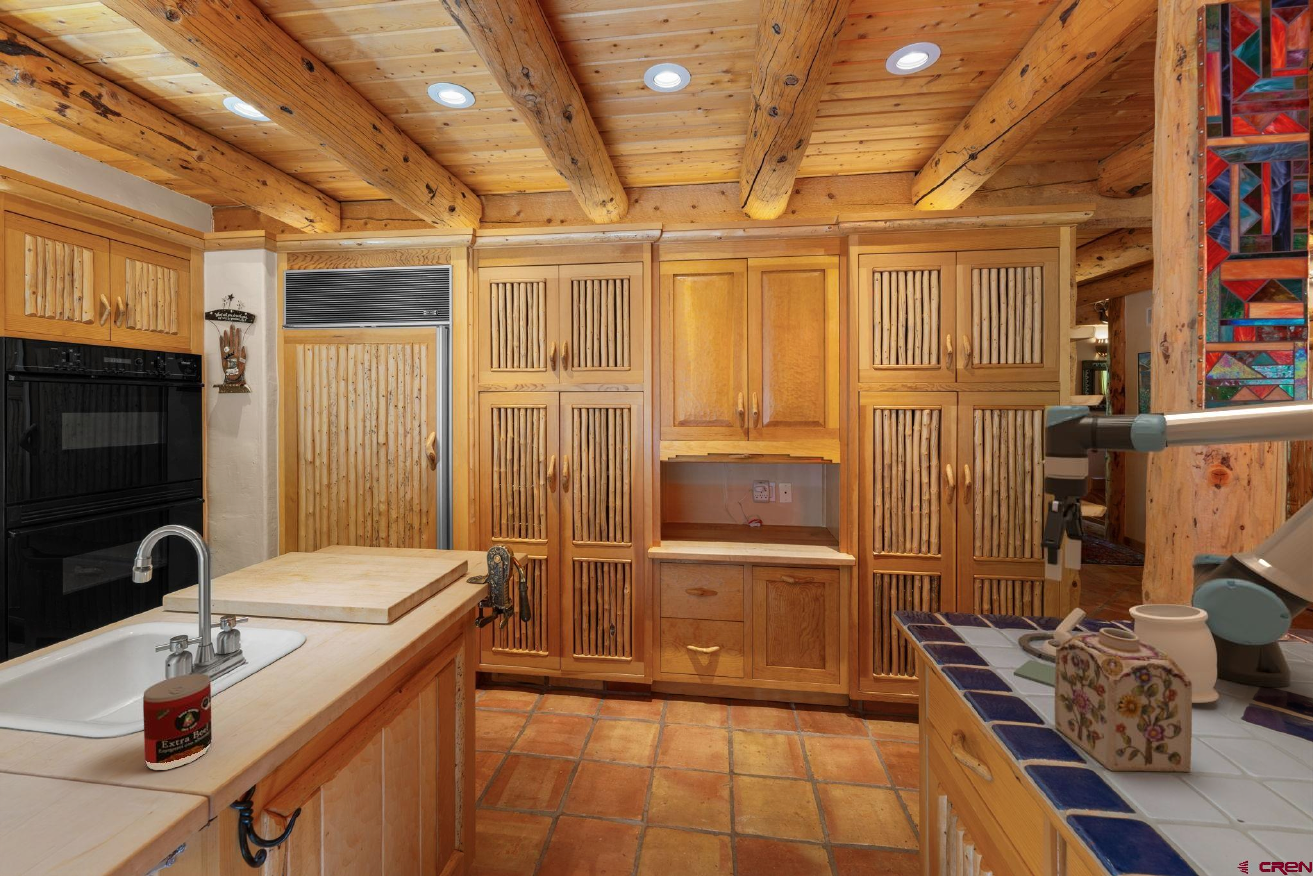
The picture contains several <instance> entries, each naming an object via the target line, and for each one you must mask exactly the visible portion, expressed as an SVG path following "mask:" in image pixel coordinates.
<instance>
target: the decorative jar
mask: <svg viewBox="0 0 1313 876" xmlns="http://www.w3.org/2000/svg"><path fill="white" fill-rule="evenodd" d="M1056 648H1057V649H1056V663H1054V664H1055V665H1054V667H1055V687H1054V727H1055V729H1057V730H1058V731H1060V732H1061V733H1063V734H1064V735H1065V736H1066V737H1067V738H1068V739H1069V740H1071V741H1072V742H1073V743H1075V744H1076V745H1077V746H1078V747H1080V748H1081V750H1083V751H1085V752H1086V753H1087V754H1089V755H1090V756H1091V757H1093V758H1094V759H1095V760H1096V761H1097V762H1099V763H1100V764H1102V765H1103V766H1104V767H1105V768H1106V769H1108V770H1109V771H1112V772H1116V771H1117V772H1118V771H1119V772H1123V771H1124V772H1133V771H1135V772H1136V771H1137V772H1138V771H1139V772H1140V771H1141V772H1178V773H1179V772H1180V773H1182V772H1185V773H1189V772H1190V771H1191V764H1192V758H1191V757H1192V737H1193V735H1192V734H1193V733H1192V732H1193V730H1192V727H1193V726H1192V725H1193V724H1192V723H1193V722H1192V720H1193V710H1192V707H1193V705H1192V704H1193V703H1192V682H1191V681H1190V680H1189V678H1188V677H1187V676H1186V675H1185V673H1184V672H1183V671H1182V670H1181V669H1180V667H1179V666H1178V665H1177V664H1176V663H1175V661H1174V660H1173V659H1172V658H1171V656H1170V655H1169V654H1167V653H1165V652H1163V651H1161V650H1159V649H1157V648H1155V647H1153V646H1151V645H1149V644H1147V643H1145V642H1141V641H1139V637H1138V636H1137V635H1135V633H1133V632H1130V631H1127V630H1122V629H1119V628H1112V627H1102V628H1100V629H1099V631H1098V632H1096V633H1095V632H1089V633H1088V632H1086V633H1085V632H1084V633H1077V634H1075V635H1074V636H1073V637H1072V638H1070V639H1069V640H1067V641H1066V642H1064V643H1063V644H1062V645H1060V646H1057V647H1056Z"/></svg>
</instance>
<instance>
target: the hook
mask: <svg viewBox="0 0 1313 876" xmlns="http://www.w3.org/2000/svg"><path fill="white" fill-rule="evenodd" d="M1086 615H1087V614H1086V612H1085V611H1084V610H1083V609H1081V608H1080V607H1075V608H1074V609H1072V610H1071V612H1070V613H1069V614H1068V615H1067V616H1066V617H1065V618H1064V620H1062V622H1061V623H1059V624H1058V626H1057V627H1056V629H1055V630H1054V632H1053V633H1052V634H1053V636H1054V639H1052V640H1045V642H1044V643H1043V645H1042V647H1041V650H1043V652H1045V651H1046V652H1045V653H1047V654H1048V653H1049V654H1050V655H1054V656H1056V649H1057V648H1058V647H1060V645H1062V644H1063V643H1064V642H1066V641H1067V640H1069V639H1070V638H1072V637H1074V636H1073V635H1072V634H1070V633H1071V631H1073V630H1074V629H1075V628H1076V626H1078V625H1079V624H1080V622H1081V621H1083V619H1084V618H1086ZM1051 645H1057V646H1051Z"/></svg>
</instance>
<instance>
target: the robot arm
mask: <svg viewBox="0 0 1313 876" xmlns="http://www.w3.org/2000/svg"><path fill="white" fill-rule="evenodd" d="M1044 437H1045V438H1044V441H1045V442H1044V460H1043V459H1042V461H1041V464H1042V465H1044V474H1045V475H1047V476H1045V477H1044V478H1043V491H1044V493H1045V494H1047V495H1052V496H1054V498H1053V500H1048V502H1047V515H1046V521H1045V525H1044V531H1043V535H1042V536H1043V537H1042V542H1040V547H1041V548H1045V565H1044V567H1045V570H1044V575H1045V577H1044V578H1045V579H1049V580H1053V581H1058V582H1061V581H1063V578H1062V577H1063V549H1062V544H1063V540H1064V536H1065V535H1066V536H1067V538H1065V544H1064V545H1065V547H1064V552H1065V553H1064V568H1067V569H1073V570H1078V571H1079V570H1080V571H1081V569H1082V568H1081V563H1082V562H1081V561H1082V560H1081V559H1082V541H1086V540H1087V536H1086V535H1085V533H1086V532H1085V528H1084V521H1083V512H1082V506H1081V505H1082V498H1081V497H1086V496H1087V495H1088V484H1089V483H1088V482H1089V481H1088V479H1087V478H1085V477H1088V476H1089V451H1111V452H1112V451H1113V452H1135V453H1137V452H1139V453H1151V452H1152V453H1156V452H1158V453H1159V452H1162V451H1164V450H1165V449H1166V448H1175V447H1176V448H1177V447H1178V448H1179V447H1199V446H1217V445H1218V446H1219V445H1238V444H1257V443H1258V444H1259V443H1275V442H1277V443H1279V442H1295V441H1297V442H1299V441H1313V398H1312V399H1301V400H1291V401H1279V402H1268V403H1267V402H1266V403H1256V404H1245V405H1234V406H1233V405H1232V406H1223V407H1222V406H1221V407H1211V408H1199V409H1188V410H1186V409H1185V410H1176V411H1164V412H1153V413H1151V412H1150V413H1139V414H1138V413H1135V414H1133V413H1131V414H1130V413H1129V414H1094V413H1091V411H1090V407H1089V406H1087V405H1054V406H1050V407H1049V408H1047V410H1046V416H1045V426H1044ZM1065 533H1066V534H1065ZM1191 566H1192V569H1193V579H1192V580H1193V587H1192V595H1191V599H1190V600H1191V601H1190V603H1191V607H1195V608H1199V609H1202V610H1204V611H1206V612H1207V615H1208V619H1207V620H1206V621H1205V623H1206V624H1207V626H1208V628H1209V630H1210V632H1211V634H1212V637H1213V639H1214V643H1215V646H1216V652H1217V678H1220V679H1222V680H1228V681H1231V682H1236V683H1241V684H1244V685H1251V686H1258V687H1266V688H1267V687H1268V688H1282V687H1287V686H1290V684H1291V673H1292V672H1291V669H1290V666H1289V665H1288V662H1287V660H1286V658H1285V655H1284V653H1283V650H1282V648H1281V646H1280V643H1279V641H1278V640H1280V639H1281V638H1282V637H1284V635H1286V634H1287V632H1288V630H1290V627H1291V626H1292V623H1293V622H1292V620H1294V618H1296V617H1297V616H1299V615H1300V614H1301V613H1303V611H1305V610H1306V609H1308V607H1309V606H1312V605H1313V497H1312V498H1311V499H1310V500H1309V501H1308V502H1306V503H1305V504H1304V505H1303V506H1302V507H1301V508H1299V510H1297V511H1296V512H1295V513H1293V514H1292V515H1291V517H1289V519H1287V520H1286V521H1285V522H1284V523H1283V524H1281V525H1280V526H1279V527H1278V528H1276V530H1275V531H1274V532H1272V533H1271V534H1270V535H1269V536H1268V537H1267V538H1266V539H1264V540H1263V541H1262V542H1261V543H1260V544H1259V545H1258V546H1256V547H1255V548H1254V549H1253V550H1252V551H1249V552H1248V551H1247V552H1244V551H1243V552H1233V553H1232V554H1231V555H1225V554H1217V553H1216V554H1214V553H1197V554H1196V555H1195V556H1194V558H1193V563H1192V565H1191Z"/></svg>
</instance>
